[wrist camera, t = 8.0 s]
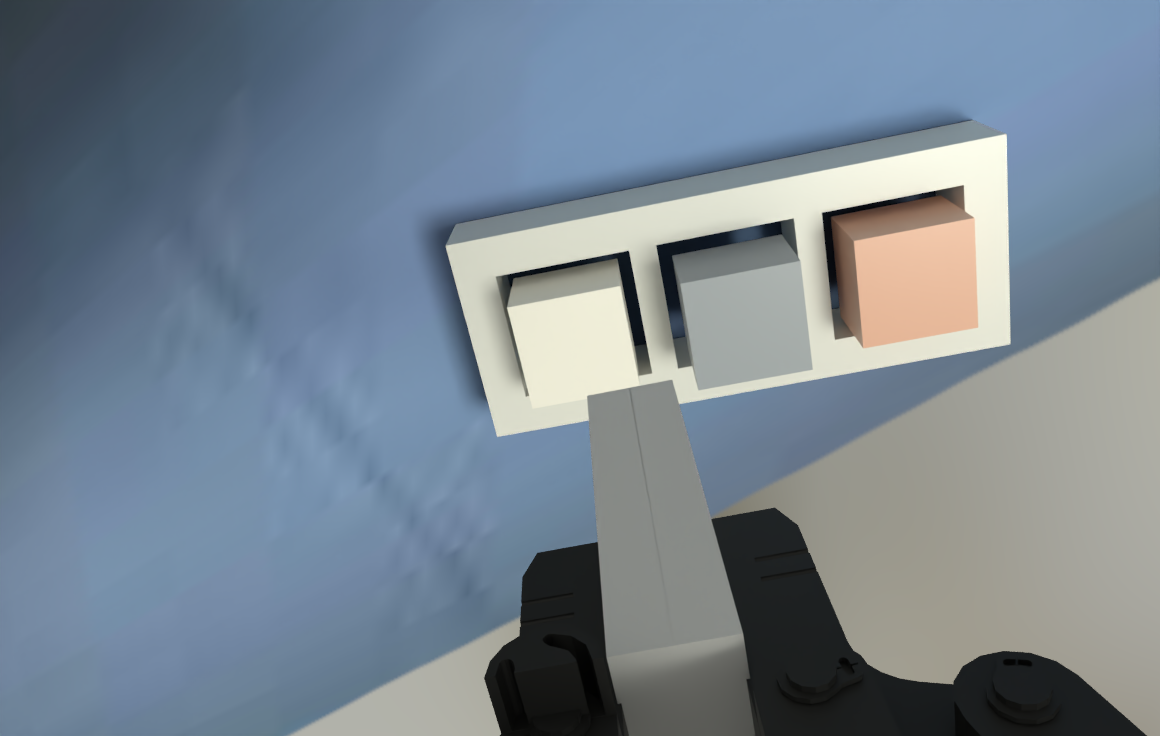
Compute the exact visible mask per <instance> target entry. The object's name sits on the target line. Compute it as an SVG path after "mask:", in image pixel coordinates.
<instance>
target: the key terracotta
mask: <svg viewBox="0 0 1160 736" xmlns="http://www.w3.org/2000/svg"><path fill="white" fill-rule="evenodd" d="M831 224H832V234H833V244H834V255H835V265H836V275H837V285H838V296H839V306H840V316H841V318H842V319H843V321H844V322H845V323H846V325H847V326H848V328H849V329H850V330H851V332H852V333H853V335H854V336H855V337H856V339H857V340H858V342H859V343H860V344H861V346H862V347H863V348H869V347H874V346H880V345H885V344H891V343H896V342H902V341H907V340H913V339H918V338H924V337H929V336H935V335H940V334H946V333H951V332H957V331H962V330H968V329H973V328H978V304H977V275H976V245H975V218H974V217H973V216H971V215H970V214H968V213H967V212H965V211H964V210H962V209H961V208H959V207H958V206H956V205H955V204H953V203H952V202H950V201H949V200H947V199H946V198H944V197H943V196H941V195H940V196H935V197H929V198H924V199H919V200H914V201H909V202H904V203H899V204H894V205H888V206H883V207H878V208H873V209H868V210H863V211H858V212H853V213H847V214H842V215H837V216H832V217H831Z"/></svg>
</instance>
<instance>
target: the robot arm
mask: <svg viewBox="0 0 1160 736" xmlns="http://www.w3.org/2000/svg"><path fill="white" fill-rule="evenodd" d="M587 402H588V416H589V429H590V443H591V456H592V469H593V483H594V496H595V510H596V523H597V536H598V542H596V543H590V544H584V545H579V546H573V547H568V548H562V549H557V550H551V551H546V552H540V553H537V555H536V556H535V558H534V559H533V561H532V563H531V564H530V566H529V567H528V569H527V571H526V572H525V574H524V576H523V579H522V599H521V602H522V606H521V618H520V623H521V627H520V636H519V637H517V638H516V639H514V640H512V641H511V642H509V643H507V644H506V645H504V646H503V647H502V648H501V650H500V651H499V652H498V653H497V654H496V655H495V656H494V658H493V659H492V660H491V661H490V663H489V666H488V669H487V672H486V674H485V678H484V679H485V682H486V685H487V688H488V692H489V695H490V698H491V701H492V705H493V708H494V711H495V714H496V718H497V721H498V724H499V727H500V730H501V735H500V736H1147V735H1145V734H1144V733H1143V732H1142V731H1141V730H1140V729H1138V728H1137V727H1136V726H1135V725H1134V724H1133V723H1132V722H1131V721H1130V720H1128V719H1127V718H1126V717H1125V716H1124V715H1123V714H1122V713H1120V712H1119V711H1118V710H1117V709H1116V708H1114V706H1112V705H1111V704H1110V703H1109V702H1108V701H1106V700H1105V699H1104V698H1103V697H1102V696H1101V695H1100V694H1098V692H1096V691H1095V690H1094V689H1093V688H1092V687H1091V686H1090V685H1088V684H1087V683H1086V682H1085V681H1084V680H1083V679H1082V678H1080V677H1079V676H1078V675H1077V674H1075V673H1074V672H1072V671H1070V670H1069V669H1067V668H1066V667H1064V666H1063V665H1061V664H1060V663H1058V662H1056V661H1054V660H1051V659H1048V658H1044V657H1041V656H1038V655H1035V654H1032V653H1024V652H1009V651H1002V652H997V653H992V654H987V655H983V656H979V657H978V658H976V659H974V660H973V661H971V662H969V663H968V664H966V665H964V666H963V667H962V669H961V670H960V672H959V674H958V675H957V677H956V679H955V680H954V685H952V684H940V683H928V682H917V681H911V680H905V679H899V678H896V677H893V676H890V675H888V674H885V673H882V672H880V671H878V670H877V669H874V668H873V667H871V666H870V665H868V664H867V663H866V662H865V660H864V659H863V658H862V656H861V655H859V654H858V653H856V652H854V651H853V649H852V648H851V646H850V645H849V643H848V641H847V639H846V637H845V634H844V632H843V630H842V627H841V625H840V623H839V620H838V618H837V616H836V614H835V611H834V609H833V607H832V604H831V602H830V599H829V597H828V595H827V593H826V590H825V588H824V586H823V583H822V581H821V578H820V576H819V574H818V572H817V571H816V567H815V564H814V563H813V560H812V557H811V555H810V553H808V548H807V546H806V544H805V541H804V539H803V536H802V534H801V532H800V529H799V527H798V525H797V524H795V523H794V522H792V520H790V519H789V518H788V517H786V516H785V515H784V514H782V513H781V512H780V511H778V510H777V509H776V508H771V509H765V510H760V511H754V512H749V513H743V514H737V515H732V516H727V517H721V518H715V519H711V517H710V513H709V510H708V506H707V503H706V499H705V495H704V492H703V488H702V485H701V481H700V477H699V474H698V470H697V467H696V463H695V459H694V456H693V452H692V449H691V445H690V442H689V438H688V434H687V431H686V427H685V424H684V420H683V416H682V413H681V409H680V406H679V402H678V399H677V395H676V391H675V388H674V384H673V381H672V380H668V381H662V382H657V383H652V384H646V385H641V386H636V387H631V388H625V389H620V390H615V391H609V392H604V393H599V394H594V395H588V396H587Z"/></svg>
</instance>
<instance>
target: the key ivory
mask: <svg viewBox="0 0 1160 736" xmlns="http://www.w3.org/2000/svg"><path fill="white" fill-rule="evenodd" d="M507 309H508V313H509V317H510V321H511V325H512V329H513V333H514V337H515V341H516V345H517V349H518V353H519V357H520V361H521V365H522V369H523V373H524V377H525V381H526V385H527V389H528V393H529V397H530V401H531V405H532V409H534V408H540V407H545V406H551V405H556V404H562V403H567V402H573V401H578V400H584V399H587V396H588V395H594V394H599V393H604V392H609V391H615V390H620V389H625V388H631V387H636V386H640V381H639V373H638V366H637V358H636V352H635V347H634V342H633V336H632V331H631V326H630V321H629V316H628V311H627V306H626V301H625V296H624V290H623V285H622V280H621V275H620V270H619V265H618V260H617V258H616V259H611V260H606V261H601V262H596V263H591V264H586V265H581V266H575V267H570V268H565V269H560V270H555V271H550V272H545V273H540V274H535V275H529V276H524V277H519V278H514V279H513V283H512V288H511V292H510V297H509V301H508V306H507Z"/></svg>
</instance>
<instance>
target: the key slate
mask: <svg viewBox="0 0 1160 736" xmlns="http://www.w3.org/2000/svg"><path fill="white" fill-rule="evenodd" d="M672 258H673V264H674V270H675V276H676V282H677V288H678V294H679V299H680V305H681V311H682V317H683V323H684V329H685V334H686V340H687V346H688V352H689V357H690V361H691V364H692V368H693V372H694V376H695V379H696V383H697V387H698V390H704V389H709V388H715V387H720V386H726V385H731V384H737V383H742V382H748V381H753V380H759V379H764V378H770V377H775V376H781V375H786V374H792V373H797V372H803V371H808V370H813V367H812V358H811V349H810V340H809V332H808V323H807V314H806V305H805V296H804V287H803V279H802V270H801V261H800V259H799V258H798V257H797V255H796V254H795V252H794V251H793V250H792V248H791V247H790V245H789V244H788V243H787V241H786V240H785V238H784V237H783V236H782V234H781V235H775V236H770V237H765V238H760V239H755V240H750V241H745V242H739V243H734V244H729V245H724V246H719V247H714V248H709V249H703V250H698V251H693V252H688V253H683V254H678V255H673V256H672Z"/></svg>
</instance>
